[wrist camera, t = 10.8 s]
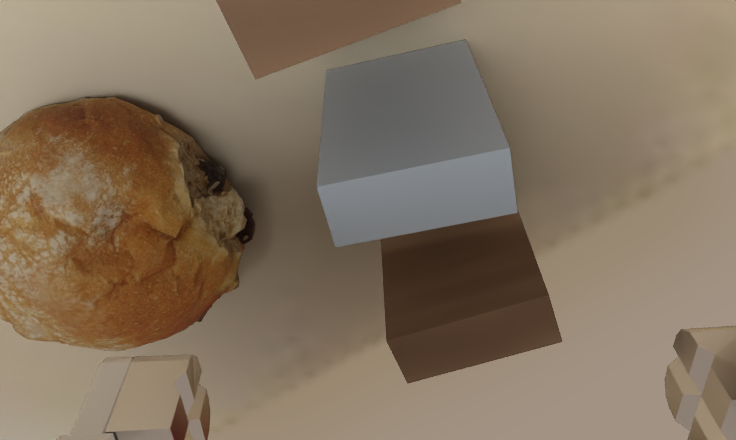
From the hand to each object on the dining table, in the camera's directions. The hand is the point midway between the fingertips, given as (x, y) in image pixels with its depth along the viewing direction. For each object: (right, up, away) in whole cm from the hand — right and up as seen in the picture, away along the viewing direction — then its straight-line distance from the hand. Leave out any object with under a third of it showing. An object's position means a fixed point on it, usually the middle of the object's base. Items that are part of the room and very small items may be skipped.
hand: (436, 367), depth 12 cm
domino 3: (+2, +3, +16) cm, 16 cm away
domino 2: (0, +8, +13) cm, 15 cm away
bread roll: (-11, +3, +16) cm, 19 cm away
